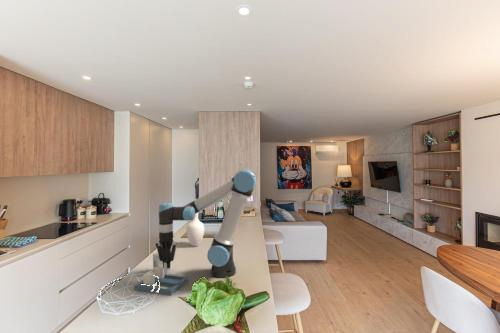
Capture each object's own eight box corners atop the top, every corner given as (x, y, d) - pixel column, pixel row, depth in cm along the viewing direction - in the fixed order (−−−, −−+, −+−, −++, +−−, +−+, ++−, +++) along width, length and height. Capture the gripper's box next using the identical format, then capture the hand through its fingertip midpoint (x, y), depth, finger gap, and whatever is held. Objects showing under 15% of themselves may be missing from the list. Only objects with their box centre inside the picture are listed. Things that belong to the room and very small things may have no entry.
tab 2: (164, 277, 139) (164, 265, 139) (159, 280, 135) (159, 267, 136) (158, 276, 140) (158, 264, 141) (153, 279, 137) (153, 267, 137)
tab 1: (154, 283, 132) (154, 270, 132) (149, 286, 128) (149, 273, 128) (148, 282, 133) (148, 270, 133) (143, 286, 129) (143, 273, 129)
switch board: (187, 281, 138) (187, 276, 138) (171, 295, 122) (171, 289, 122) (154, 276, 144) (154, 272, 144) (134, 289, 128) (134, 284, 128)
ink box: (165, 268, 155) (165, 250, 155) (170, 270, 152) (169, 251, 152) (152, 273, 149) (152, 253, 149) (157, 275, 145) (157, 255, 146)
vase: (207, 246, 200) (207, 212, 200) (190, 249, 192) (190, 213, 192) (200, 242, 212) (200, 209, 212) (183, 245, 204) (183, 211, 204)
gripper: (180, 230, 139) (180, 272, 139) (160, 229, 142) (160, 269, 142) (172, 233, 132) (173, 277, 131) (151, 232, 135) (152, 275, 135)
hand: (166, 273), depth 137 cm, fingers closed
